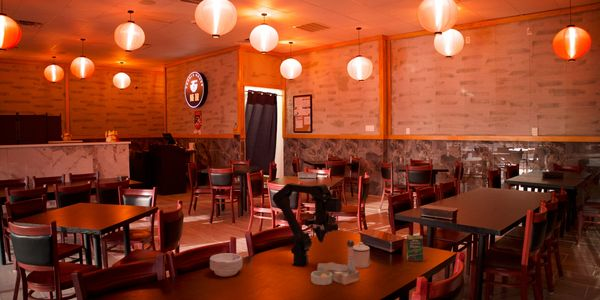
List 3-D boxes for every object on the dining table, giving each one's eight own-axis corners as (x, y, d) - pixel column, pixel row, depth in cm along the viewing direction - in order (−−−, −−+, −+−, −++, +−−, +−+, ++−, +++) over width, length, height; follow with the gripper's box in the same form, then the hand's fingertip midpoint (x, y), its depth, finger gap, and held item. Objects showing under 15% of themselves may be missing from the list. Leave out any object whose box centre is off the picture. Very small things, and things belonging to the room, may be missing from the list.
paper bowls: (248, 271, 212) (248, 254, 212) (229, 280, 199) (229, 263, 198) (223, 266, 219) (223, 251, 219) (203, 275, 206) (202, 259, 206)
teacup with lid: (372, 267, 216) (372, 244, 216) (355, 269, 214) (355, 245, 214) (363, 260, 228) (363, 238, 227) (347, 261, 226) (347, 239, 225)
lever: (316, 273, 195) (316, 239, 194) (318, 267, 202) (318, 235, 202) (354, 275, 192) (354, 241, 191) (355, 269, 199) (355, 237, 199)
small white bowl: (308, 283, 194) (308, 275, 194) (315, 277, 203) (315, 269, 203) (328, 286, 191) (328, 278, 191) (334, 279, 200) (334, 271, 199)
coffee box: (407, 261, 226) (407, 236, 225) (406, 259, 229) (406, 234, 228) (423, 261, 225) (423, 236, 224) (422, 260, 228) (422, 235, 227)
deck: (317, 274, 207) (317, 265, 206) (332, 270, 212) (331, 262, 212) (344, 284, 193) (344, 275, 192) (359, 280, 198) (359, 271, 198)
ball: (319, 275, 194) (327, 275, 193) (320, 272, 197) (327, 272, 197) (319, 283, 194) (327, 283, 193) (320, 280, 197) (328, 280, 197)
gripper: (346, 211, 211) (346, 243, 212) (320, 206, 226) (320, 236, 227) (329, 214, 204) (329, 247, 205) (303, 208, 219) (304, 239, 220)
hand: (321, 242), depth 214 cm, fingers closed
